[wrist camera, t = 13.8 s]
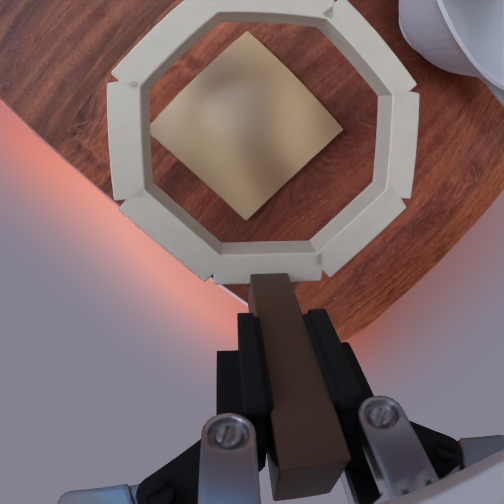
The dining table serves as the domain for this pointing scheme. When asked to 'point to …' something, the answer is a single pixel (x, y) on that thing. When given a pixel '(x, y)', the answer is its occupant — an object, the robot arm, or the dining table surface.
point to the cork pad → (245, 125)
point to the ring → (272, 252)
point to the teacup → (458, 37)
